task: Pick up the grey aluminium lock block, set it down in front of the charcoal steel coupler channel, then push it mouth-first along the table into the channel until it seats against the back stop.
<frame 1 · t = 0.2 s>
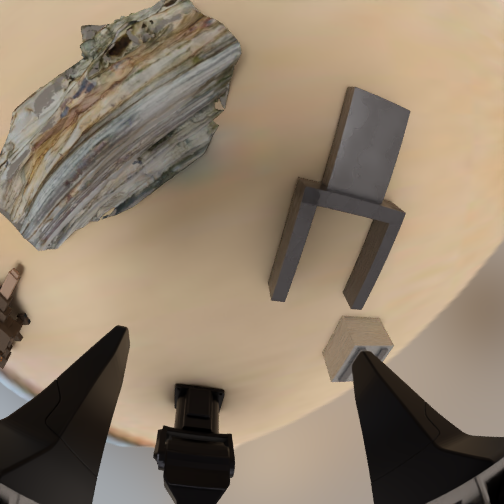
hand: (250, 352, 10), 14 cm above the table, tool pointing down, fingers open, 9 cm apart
rock: (97, 122, 18), on the table
coupler: (330, 243, 24), on the table
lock: (350, 335, 31), on the table
video game creature: (6, 305, 27), on the table
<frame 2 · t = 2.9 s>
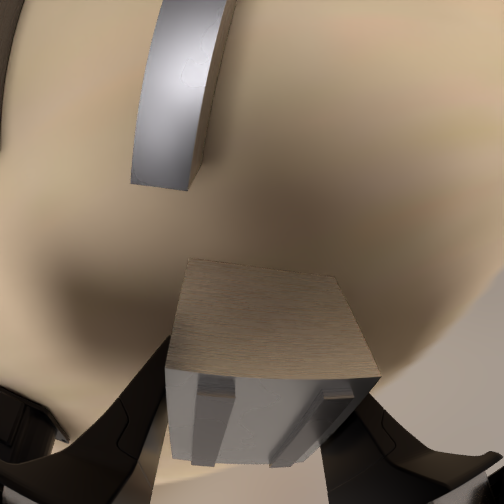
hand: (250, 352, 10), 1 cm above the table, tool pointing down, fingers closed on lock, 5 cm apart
coupler: (90, 1, 5), on the table
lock: (248, 331, 11), on the table, touching gripper
when the fingers open (2 cm above the table, at t = 7.1 s): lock stays where it is, on the table.
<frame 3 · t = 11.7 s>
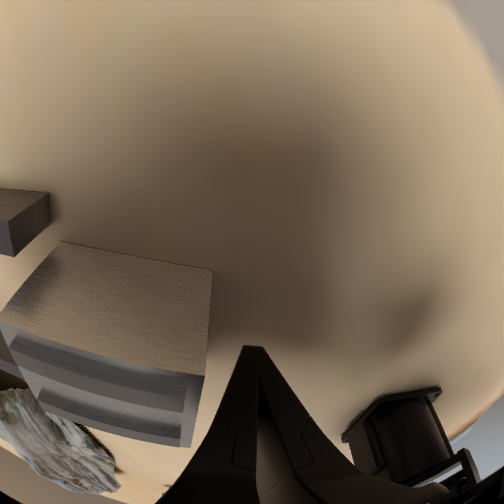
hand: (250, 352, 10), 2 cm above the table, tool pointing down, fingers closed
rock: (45, 425, 19), on the table
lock: (131, 308, 11), on the table, touching gripper
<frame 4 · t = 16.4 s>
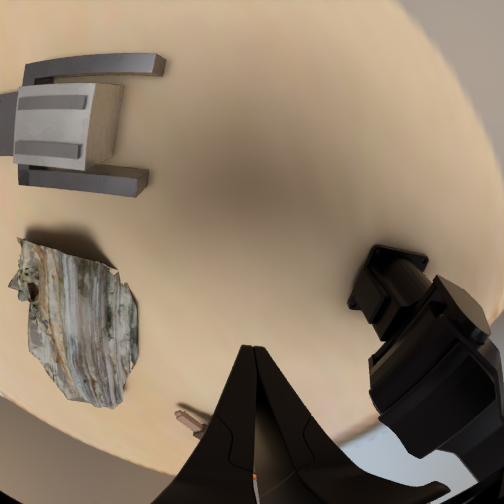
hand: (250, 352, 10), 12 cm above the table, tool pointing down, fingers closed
rock: (75, 323, 25), on the table
coupler: (89, 119, 16), on the table
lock: (82, 118, 16), resting in coupler
video game creature: (232, 426, 36), on the table
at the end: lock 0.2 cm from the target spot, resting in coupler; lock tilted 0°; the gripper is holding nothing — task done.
